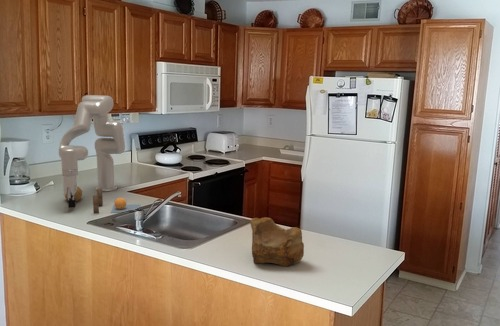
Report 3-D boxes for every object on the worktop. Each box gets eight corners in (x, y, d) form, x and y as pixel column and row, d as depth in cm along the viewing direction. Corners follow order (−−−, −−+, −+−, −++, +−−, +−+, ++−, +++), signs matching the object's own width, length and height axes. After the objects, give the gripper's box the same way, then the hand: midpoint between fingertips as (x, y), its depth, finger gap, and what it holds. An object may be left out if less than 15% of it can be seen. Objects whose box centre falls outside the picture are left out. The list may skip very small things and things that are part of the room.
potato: (65, 204, 251) (64, 190, 249) (63, 198, 263) (62, 184, 261) (84, 202, 255) (84, 188, 253) (81, 196, 267) (80, 183, 266)
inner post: (98, 205, 250) (97, 188, 249) (103, 205, 251) (102, 188, 249) (97, 206, 248) (96, 190, 246) (102, 206, 248) (101, 190, 247)
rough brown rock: (232, 261, 180) (231, 225, 176) (257, 246, 193) (257, 212, 189) (283, 279, 167) (283, 241, 163) (306, 261, 179) (307, 225, 175)
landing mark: (114, 205, 251) (114, 205, 251) (140, 204, 253) (140, 204, 253) (110, 212, 237) (110, 212, 237) (138, 212, 239) (138, 211, 239)
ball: (122, 194, 246) (129, 202, 247) (113, 201, 246) (121, 209, 247) (119, 197, 240) (127, 205, 241) (110, 204, 240) (118, 212, 241)
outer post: (94, 212, 238) (93, 195, 236) (99, 212, 238) (98, 195, 236) (93, 213, 235) (92, 196, 233) (98, 213, 236) (97, 196, 234)
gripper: (65, 169, 244) (67, 203, 247) (58, 175, 229) (60, 211, 233) (80, 169, 245) (82, 203, 249) (74, 175, 231) (76, 211, 234)
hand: (72, 207), depth 241 cm, fingers closed
